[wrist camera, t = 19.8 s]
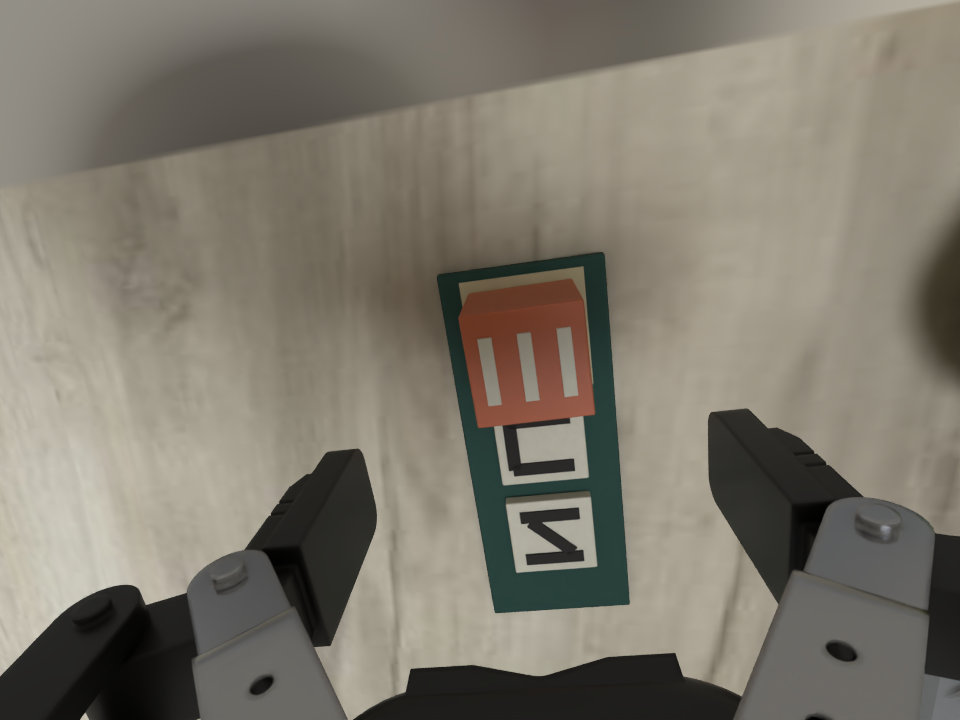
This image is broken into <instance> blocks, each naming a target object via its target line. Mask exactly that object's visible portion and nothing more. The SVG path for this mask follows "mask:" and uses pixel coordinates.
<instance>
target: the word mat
mask: <svg viewBox="0 0 960 720" xmlns="http://www.w3.org/2000/svg"><path fill="white" fill-rule="evenodd" d="M565 279H573V281H574V283H575V285H576V287H577V289H578V290H579V292H580V294H581V296H582V298H583V300H584V306H585V316H586V326H587V336H588V345H589V355H590V365H591V375H592V385H593V395H594V405H595V415H589V416H580V417H572V418H563V419H554V420H546V421H537V422H529V423H520V424H511V425H503V426H494V427H486V428H478V426H477V420H476V414H475V409H474V403H473V398H472V392H471V386H470V381H469V375H468V370H467V364H466V358H465V353H464V347H463V341H462V336H461V330H460V325H459V319H458V318H459V315H460V312H461V310H462V308H463V305H464V303H465V301H466V298H467V296H468V294H469V293H476V292H483V291H490V290H497V289H504V288H510V287H517V286H524V285H531V284H538V283H545V282H552V281H558V280H565ZM437 281H438V287H439V293H440V299H441V304H442V310H443V316H444V322H445V327H446V333H447V339H448V345H449V351H450V356H451V362H452V368H453V374H454V379H455V385H456V391H457V397H458V403H459V408H460V414H461V420H462V426H463V431H464V437H465V443H466V449H467V455H468V460H469V466H470V472H471V478H472V483H473V489H474V495H475V501H476V507H477V512H478V518H479V524H480V530H481V535H482V541H483V547H484V553H485V559H486V564H487V570H488V576H489V582H490V587H491V593H492V599H493V605H494V610H495V613H506V612H521V611H536V610H552V609H567V608H583V607H598V606H614V605H629V604H630V600H629V587H628V573H627V559H626V545H625V531H624V517H623V504H622V490H621V476H620V462H619V448H618V434H617V420H616V407H615V393H614V379H613V365H612V351H611V337H610V324H609V310H608V296H607V282H606V268H605V255H604V253H603V252H600V253H593V254H585V255H578V256H571V257H563V258H556V259H549V260H542V261H534V262H527V263H520V264H512V265H505V266H498V267H491V268H483V269H476V270H469V271H461V272H454V273H447V274H440V275H438V276H437Z"/></svg>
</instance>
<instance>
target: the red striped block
mask: <svg viewBox="0 0 960 720" xmlns="http://www.w3.org/2000/svg"><path fill="white" fill-rule="evenodd" d="M458 319H459V325H460V330H461V336H462V341H463V347H464V353H465V358H466V364H467V370H468V375H469V381H470V386H471V392H472V398H473V403H474V409H475V414H476V420H477V426H478V428H486V427H494V426H503V425H511V424H520V423H529V422H537V421H546V420H554V419H563V418H572V417H580V416H589V415H595V405H594V395H593V385H592V375H591V365H590V355H589V345H588V336H587V326H586V316H585V306H584V300H583V298H582V296H581V294H580V292H579V290H578V289H577V287H576V285H575V283H574V281H573V279H565V280H558V281H552V282H545V283H538V284H531V285H524V286H517V287H510V288H504V289H497V290H490V291H483V292H476V293H469V294H468V296H467V298H466V301H465V303H464V305H463V308H462V310H461V312H460V315H459V318H458Z"/></svg>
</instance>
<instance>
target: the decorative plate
mask: <svg viewBox="0 0 960 720" xmlns="http://www.w3.org/2000/svg"><path fill="white" fill-rule="evenodd" d="M920 720H960V681H958V680H953V679H948V678H943V677H938V676H933V675H927V674H924V681H923V691H922V702H921V713H920Z"/></svg>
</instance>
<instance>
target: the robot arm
mask: <svg viewBox="0 0 960 720" xmlns="http://www.w3.org/2000/svg"><path fill="white" fill-rule="evenodd" d="M708 465H709V482H710V488H711V491H712V495H713V498H714V500H715V502H716V504H717V506H718V507H719V509H720V510H721V512H722V514H723V515H724V517H725V519H726V520H727V522H728V523H729V525H730V527H731V528H732V530H733V531H734V533H735V535H736V536H737V538H738V540H739V541H740V543H741V544H742V546H743V548H744V549H745V551H746V553H747V554H748V556H749V557H750V559H751V561H752V562H753V564H754V566H755V567H756V569H757V570H758V572H759V574H760V575H761V577H762V578H763V580H764V582H765V583H766V585H767V587H768V588H769V590H770V591H771V593H772V595H773V596H774V598H775V600H776V601H777V603H778V604H779V605H778V608H777V610H776V613H775V615H774V618H773V620H772V623H771V625H770V628H769V630H768V633H767V635H766V638H765V640H764V643H763V645H762V648H761V651H760V653H759V656H758V658H757V661H756V663H755V666H754V668H753V671H752V673H751V676H750V678H749V681H748V683H747V686H746V688H745V691H744V693H743V696H742V697H741V696H739V695H737V694H735V693H733V692H731V691H729V690H727V689H724V688H722V687H719V686H716V685H714V684H711V683H708V682H704V681H701V680H697V679H693V678H688V677H683V675H682V672H681V669H680V666H679V663H678V660H677V657H676V654H675V653H668V654H651V655H635V656H618V657H606V658H603V659H600V660H596V661H593V662H590V663H586V664H583V665H580V666H576V667H573V668H570V669H566V670H563V671H560V672H556V673H553V674H550V675H546V676H531V675H525V674H520V673H514V672H508V671H503V670H497V669H492V668H486V667H481V666H475V665H467V666H450V667H433V668H417V669H411V670H410V675H409V679H408V684H407V689H406V692H405V693H402V694H398V695H396V696H394V697H391V698H389V699H386V700H384V701H382V702H380V703H378V704H377V705H375V706H373V707H371V708H369V709H368V710H366V711H365V712H363V713H362V714H360V715H359V716H358V717H356V718H355V719H353V720H920V713H921V702H922V691H923V681H924V674H927V675H933V676H938V677H943V678H948V679H953V680H958V681H960V537H959V536H950V535H943V534H936V533H935V532H934V530H933V527H932V526H931V525H930V523H929V522H928V521H927V520H925V519H924V518H923V517H922V516H920V515H919V514H917V513H916V512H914V511H912V510H910V509H908V508H906V507H903V506H901V505H898V504H895V503H892V502H889V501H885V500H880V499H875V498H866V497H863V496H862V495H861V494H860V493H859V492H858V491H857V490H856V489H854V488H853V487H852V486H851V485H850V484H849V483H848V482H847V481H846V480H845V479H844V478H843V477H841V476H840V475H839V474H838V473H837V472H836V471H835V470H834V469H833V468H832V467H831V466H829V465H826V462H825V461H824V460H823V459H822V458H821V457H820V456H819V455H818V454H814V451H813V450H812V449H811V448H810V447H809V446H808V445H807V444H806V443H804V442H803V441H802V440H801V439H800V438H799V437H796V436H794V435H792V434H790V433H788V432H785V431H783V430H781V429H779V428H767V427H766V426H765V425H764V424H763V423H762V422H761V421H760V420H759V419H758V418H757V417H756V416H755V415H754V414H753V413H752V412H751V411H750V410H749V409H737V410H727V411H718V412H711V413H710V415H709V419H708ZM376 523H377V512H376V505H375V500H374V496H373V492H372V488H371V484H370V480H369V476H368V472H367V468H366V464H365V460H364V456H363V454H362V452H361V450H359V449H350V450H340V451H331V452H327V453H326V454H325V455H324V456H323V458H322V459H321V461H320V462H319V464H318V465H317V467H316V468H315V470H314V471H313V473H312V474H306V475H305V476H304V477H302V478H301V479H300V480H298V481H297V482H296V483H295V484H293V485H292V486H291V487H289V489H288V490H287V491H286V493H285V494H284V496H283V497H282V498H281V500H280V501H279V504H277V505H276V507H275V508H274V509H273V511H272V512H271V516H268V518H267V519H266V521H265V522H264V523H263V525H262V526H261V528H260V529H259V530H258V532H257V533H256V535H255V536H254V537H253V539H252V540H251V541H250V543H249V544H248V546H247V547H246V548H245V550H242V551H238V552H234V553H231V554H228V555H226V556H223V557H221V558H219V559H217V560H215V561H214V562H212V563H210V564H209V565H207V566H206V567H205V568H203V569H202V570H201V571H200V572H199V573H198V574H197V575H196V576H195V577H194V578H193V579H192V581H191V582H190V584H189V586H188V589H187V593H185V594H182V595H178V596H175V597H172V598H169V599H165V600H162V601H159V602H155V603H152V604H149V605H146V604H145V602H144V600H143V598H142V595H141V593H140V591H139V589H138V588H137V587H135V586H132V585H119V586H113V587H110V588H106V589H103V590H101V591H98V592H96V593H94V594H91V595H89V596H87V597H85V598H84V599H82V600H80V601H78V602H77V603H75V604H74V605H72V606H71V607H69V608H68V609H67V610H66V611H64V612H63V613H62V614H61V615H60V616H59V617H58V618H56V619H55V620H54V621H53V623H52V624H51V625H50V626H49V627H48V628H47V629H46V630H45V631H44V632H43V633H42V634H41V635H40V636H39V637H38V638H37V639H36V640H35V641H34V642H33V643H32V644H31V645H30V646H29V647H28V648H27V649H26V650H25V651H24V652H23V654H22V655H21V656H20V657H19V658H18V659H17V660H16V661H15V662H14V663H13V664H12V665H11V666H10V667H9V668H8V669H7V670H6V671H5V672H4V673H3V674H2V675H1V676H0V720H80V719H81V717H82V716H83V715H84V713H85V712H86V714H87V716H88V718H89V720H197V719H199V718H201V720H348V719H347V717H346V715H345V713H344V710H343V708H342V706H341V704H340V702H339V700H338V698H337V695H336V693H335V691H334V689H333V687H332V685H331V683H330V680H329V678H328V676H327V674H326V672H325V670H324V668H323V666H322V663H321V661H320V659H319V657H318V655H317V653H316V651H315V648H314V647H321V646H331V643H332V641H333V638H334V636H335V633H336V630H337V628H338V625H339V623H340V620H341V618H342V615H343V612H344V610H345V607H346V605H347V602H348V600H349V597H350V594H351V592H352V589H353V587H354V584H355V582H356V579H357V577H358V574H359V571H360V569H361V566H362V564H363V561H364V559H365V556H366V553H367V551H368V548H369V546H370V543H371V541H372V538H373V535H374V533H375V529H376Z"/></svg>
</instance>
